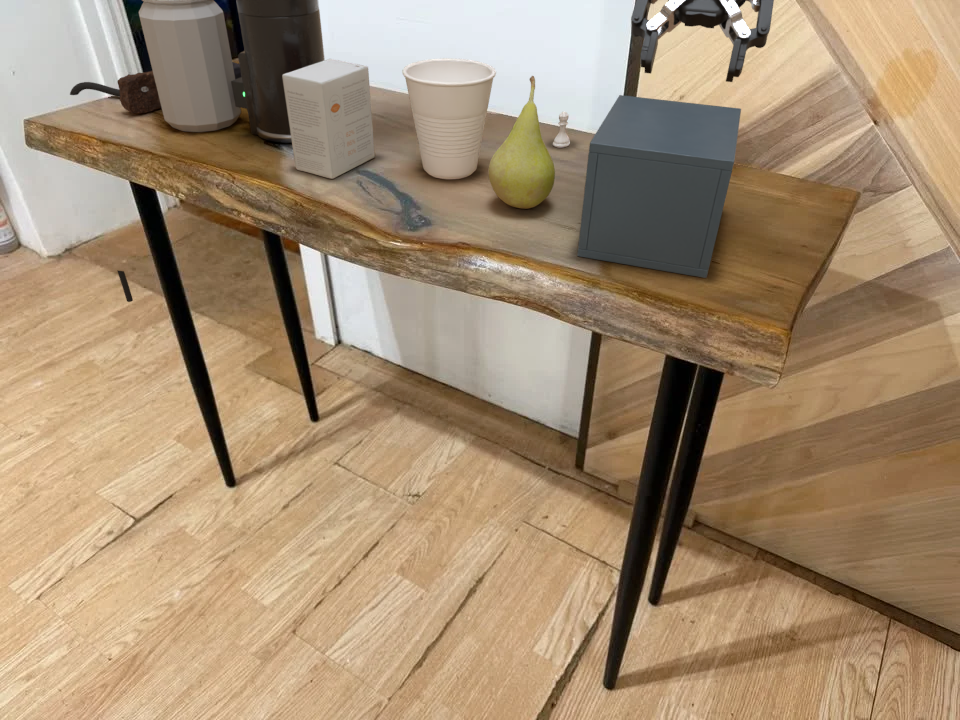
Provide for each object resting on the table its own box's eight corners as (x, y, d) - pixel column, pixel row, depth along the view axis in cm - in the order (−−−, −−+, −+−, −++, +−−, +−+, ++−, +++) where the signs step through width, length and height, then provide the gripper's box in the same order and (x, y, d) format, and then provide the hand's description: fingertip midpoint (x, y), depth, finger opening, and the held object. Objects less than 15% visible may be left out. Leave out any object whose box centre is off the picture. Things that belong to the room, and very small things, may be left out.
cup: (483, 191, 77) (486, 86, 70) (395, 182, 78) (390, 79, 72) (500, 158, 85) (503, 61, 78) (419, 151, 86) (416, 55, 80)
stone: (133, 118, 94) (122, 78, 91) (119, 113, 95) (108, 74, 92) (181, 104, 99) (173, 66, 96) (168, 100, 101) (159, 62, 98)
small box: (339, 149, 86) (329, 57, 80) (376, 158, 84) (369, 64, 78) (293, 169, 81) (280, 73, 74) (332, 180, 78) (321, 81, 72)
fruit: (483, 215, 72) (486, 94, 65) (494, 186, 78) (497, 72, 71) (549, 221, 71) (559, 98, 64) (555, 191, 77) (564, 76, 70)
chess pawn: (562, 149, 88) (565, 116, 85) (548, 145, 89) (551, 113, 86) (573, 143, 89) (576, 111, 87) (560, 140, 90) (563, 108, 88)
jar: (180, 139, 88) (142, -25, 77) (153, 119, 94) (114, -36, 83) (255, 124, 93) (228, -32, 82) (225, 106, 99) (196, -42, 88)
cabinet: (606, 195, 76) (619, 94, 70) (717, 212, 74) (741, 108, 67) (577, 256, 65) (589, 142, 59) (706, 278, 62) (734, 161, 56)
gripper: (653, -93, 75) (620, 46, 73) (795, -87, 72) (765, 59, 70) (651, -42, 83) (622, 85, 81) (780, -34, 79) (752, 99, 77)
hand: (688, 73), depth 75 cm, fingers open, 8 cm apart
